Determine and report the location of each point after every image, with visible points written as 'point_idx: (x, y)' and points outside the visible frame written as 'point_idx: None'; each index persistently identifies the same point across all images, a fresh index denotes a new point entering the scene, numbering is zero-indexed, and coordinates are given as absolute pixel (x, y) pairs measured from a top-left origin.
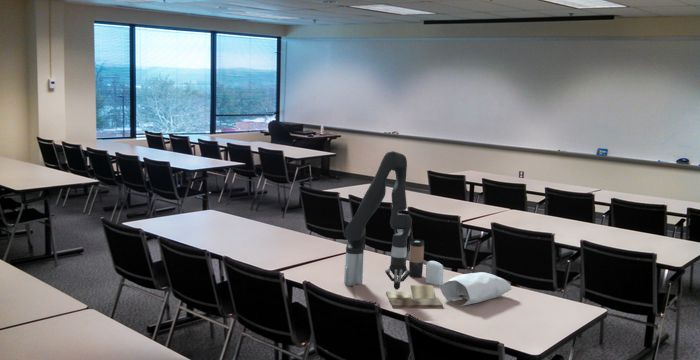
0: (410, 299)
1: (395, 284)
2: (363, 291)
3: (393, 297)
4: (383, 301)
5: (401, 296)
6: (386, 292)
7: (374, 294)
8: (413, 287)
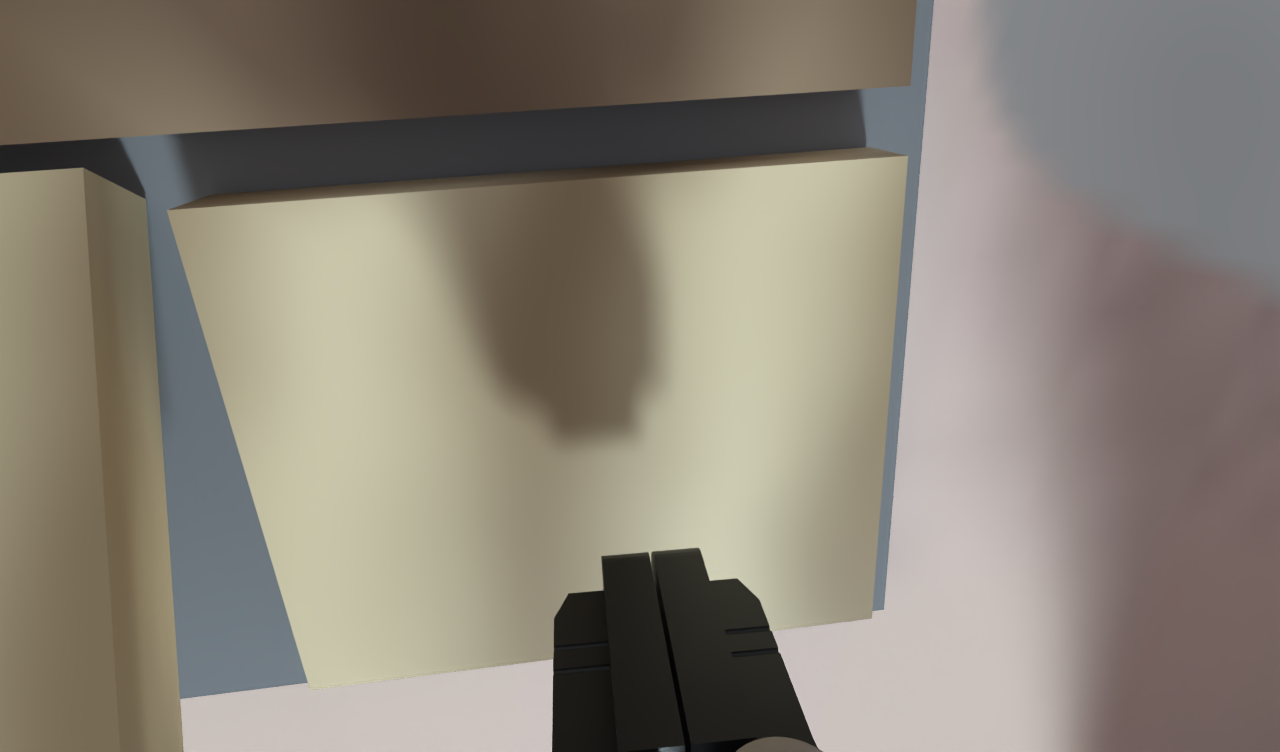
0: (195, 13)
1: (742, 687)
2: (1165, 731)
3: (772, 174)
4: (952, 235)
5: (509, 290)
6: (873, 569)
7: (1021, 624)
8: (34, 720)
